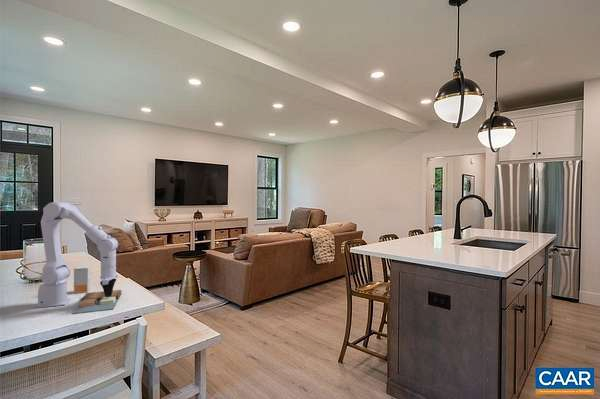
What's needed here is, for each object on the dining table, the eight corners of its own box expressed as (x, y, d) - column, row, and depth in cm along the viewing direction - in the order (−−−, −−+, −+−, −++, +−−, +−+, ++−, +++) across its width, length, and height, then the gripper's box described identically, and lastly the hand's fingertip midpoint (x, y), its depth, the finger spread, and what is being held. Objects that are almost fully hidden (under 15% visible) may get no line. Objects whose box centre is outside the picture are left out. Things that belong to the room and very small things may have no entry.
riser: (81, 303, 135) (81, 299, 135) (86, 297, 143) (86, 292, 143) (118, 300, 140) (118, 295, 140) (121, 293, 148) (121, 289, 148)
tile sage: (100, 304, 133) (100, 301, 133) (102, 300, 138) (102, 297, 138) (113, 303, 135) (113, 300, 135) (115, 299, 139) (115, 296, 139)
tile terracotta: (79, 307, 130) (79, 303, 130) (83, 303, 135) (83, 299, 135) (93, 305, 132) (93, 302, 132) (96, 301, 136) (96, 298, 136)
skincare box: (73, 293, 148) (73, 268, 148) (77, 290, 152) (77, 266, 152) (87, 292, 150) (87, 267, 149) (91, 289, 154) (91, 265, 154)
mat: (72, 314, 124) (72, 313, 124) (81, 304, 135) (81, 303, 135) (113, 309, 129) (113, 308, 129) (118, 300, 140) (118, 299, 140)
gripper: (116, 268, 131) (116, 300, 132) (121, 261, 145) (121, 290, 145) (96, 270, 129) (96, 302, 129) (103, 262, 142) (103, 292, 143)
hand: (108, 296), depth 137 cm, fingers closed
